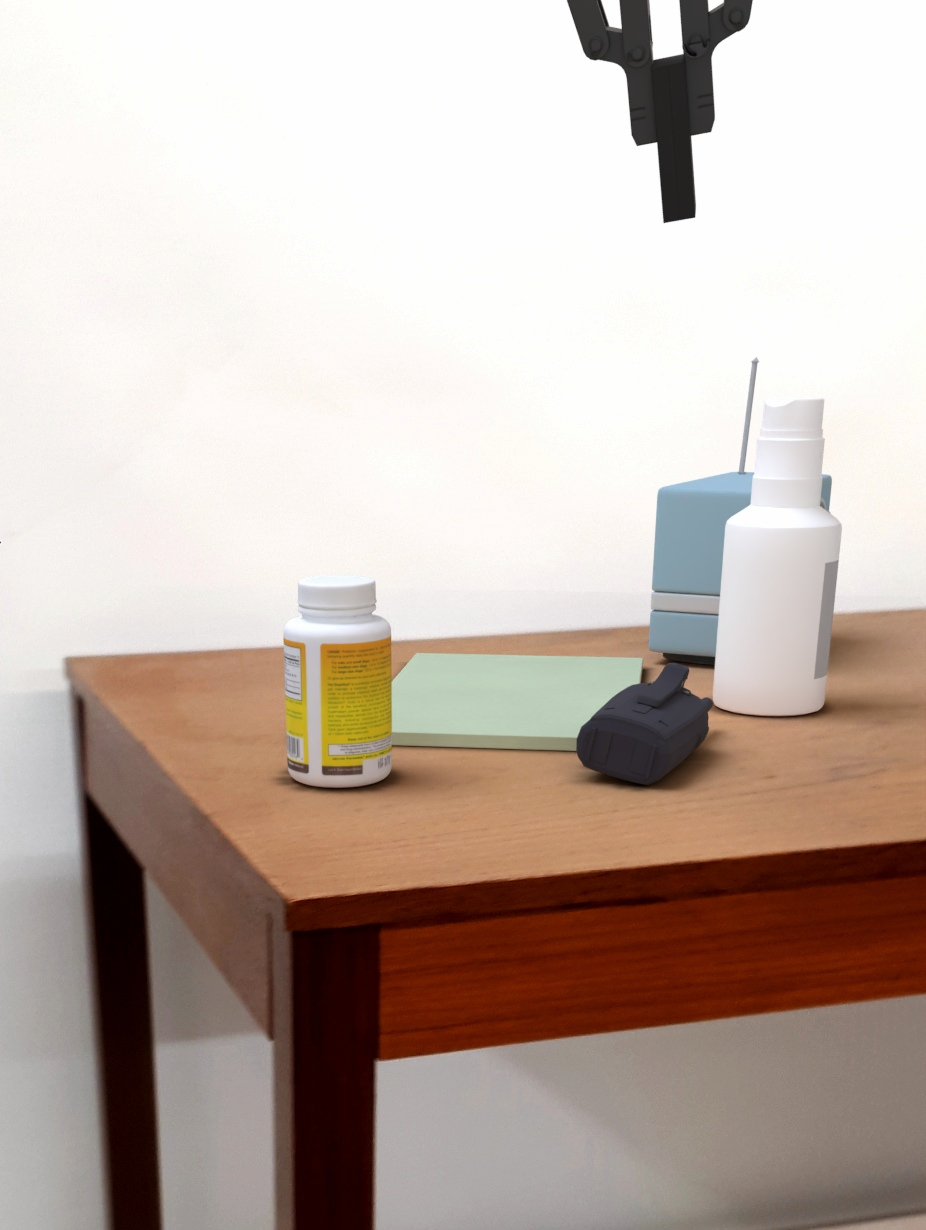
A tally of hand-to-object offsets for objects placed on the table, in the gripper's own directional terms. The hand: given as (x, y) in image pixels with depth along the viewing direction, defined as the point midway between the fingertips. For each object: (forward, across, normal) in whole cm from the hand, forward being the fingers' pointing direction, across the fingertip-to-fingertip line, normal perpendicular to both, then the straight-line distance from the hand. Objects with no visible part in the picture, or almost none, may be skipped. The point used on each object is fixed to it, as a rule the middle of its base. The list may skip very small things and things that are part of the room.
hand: (679, 213), depth 80 cm
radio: (+36, +1, +29) cm, 46 cm away
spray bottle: (+31, +3, +10) cm, 33 cm away
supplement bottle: (+22, -19, -12) cm, 32 cm away
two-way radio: (+22, -4, -11) cm, 25 cm away
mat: (+28, -13, +9) cm, 32 cm away
